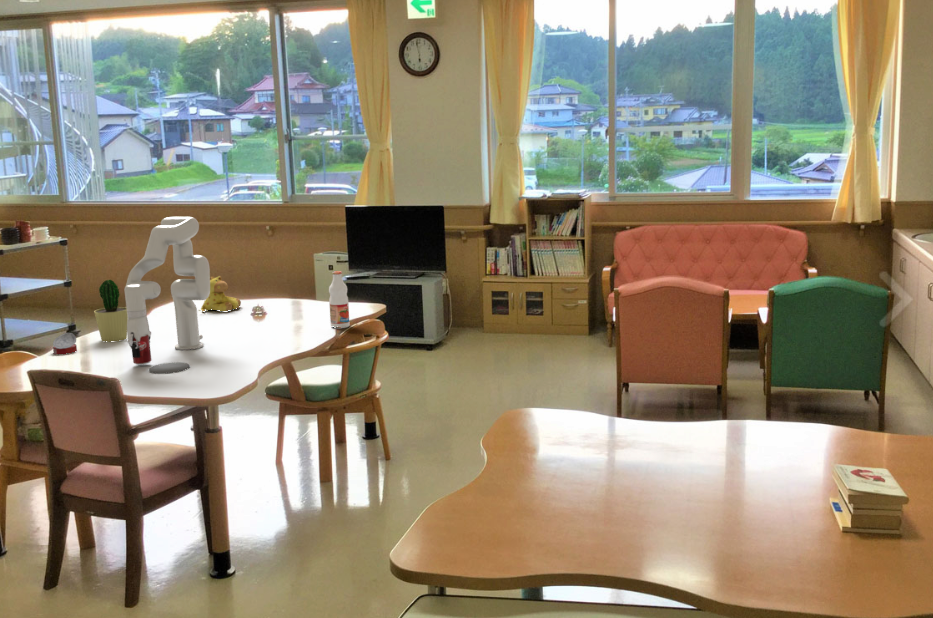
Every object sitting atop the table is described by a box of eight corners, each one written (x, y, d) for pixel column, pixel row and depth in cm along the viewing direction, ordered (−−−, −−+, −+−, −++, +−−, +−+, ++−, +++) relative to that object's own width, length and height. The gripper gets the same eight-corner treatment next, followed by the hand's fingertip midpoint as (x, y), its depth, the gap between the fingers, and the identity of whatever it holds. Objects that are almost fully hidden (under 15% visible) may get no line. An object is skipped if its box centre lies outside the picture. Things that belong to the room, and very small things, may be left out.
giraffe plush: (236, 312, 486) (234, 278, 482) (193, 314, 484) (190, 280, 481) (243, 306, 506) (240, 273, 502) (202, 307, 504) (199, 275, 501)
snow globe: (78, 360, 400) (85, 342, 397) (58, 363, 391) (65, 344, 388) (65, 347, 404) (71, 329, 401) (45, 349, 396) (51, 331, 392)
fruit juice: (335, 324, 441) (332, 270, 436) (352, 325, 439) (349, 270, 434) (327, 328, 432) (324, 272, 427) (345, 329, 430) (342, 273, 425)
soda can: (145, 365, 362) (142, 337, 359) (129, 364, 363) (126, 336, 361) (155, 360, 369) (152, 333, 366) (139, 360, 370) (136, 332, 368)
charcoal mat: (161, 363, 368) (161, 361, 368) (196, 364, 365) (196, 362, 365) (141, 373, 352) (141, 371, 352) (177, 374, 349) (177, 372, 349)
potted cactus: (123, 335, 432) (117, 275, 426) (136, 339, 421) (130, 277, 415) (92, 340, 421) (85, 279, 416) (104, 344, 410) (98, 281, 405)
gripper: (140, 309, 371) (144, 349, 374) (116, 318, 354) (121, 360, 357) (156, 309, 369) (160, 350, 373) (133, 318, 352) (138, 360, 356)
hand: (141, 354), depth 365 cm, fingers closed on soda can, 7 cm apart
